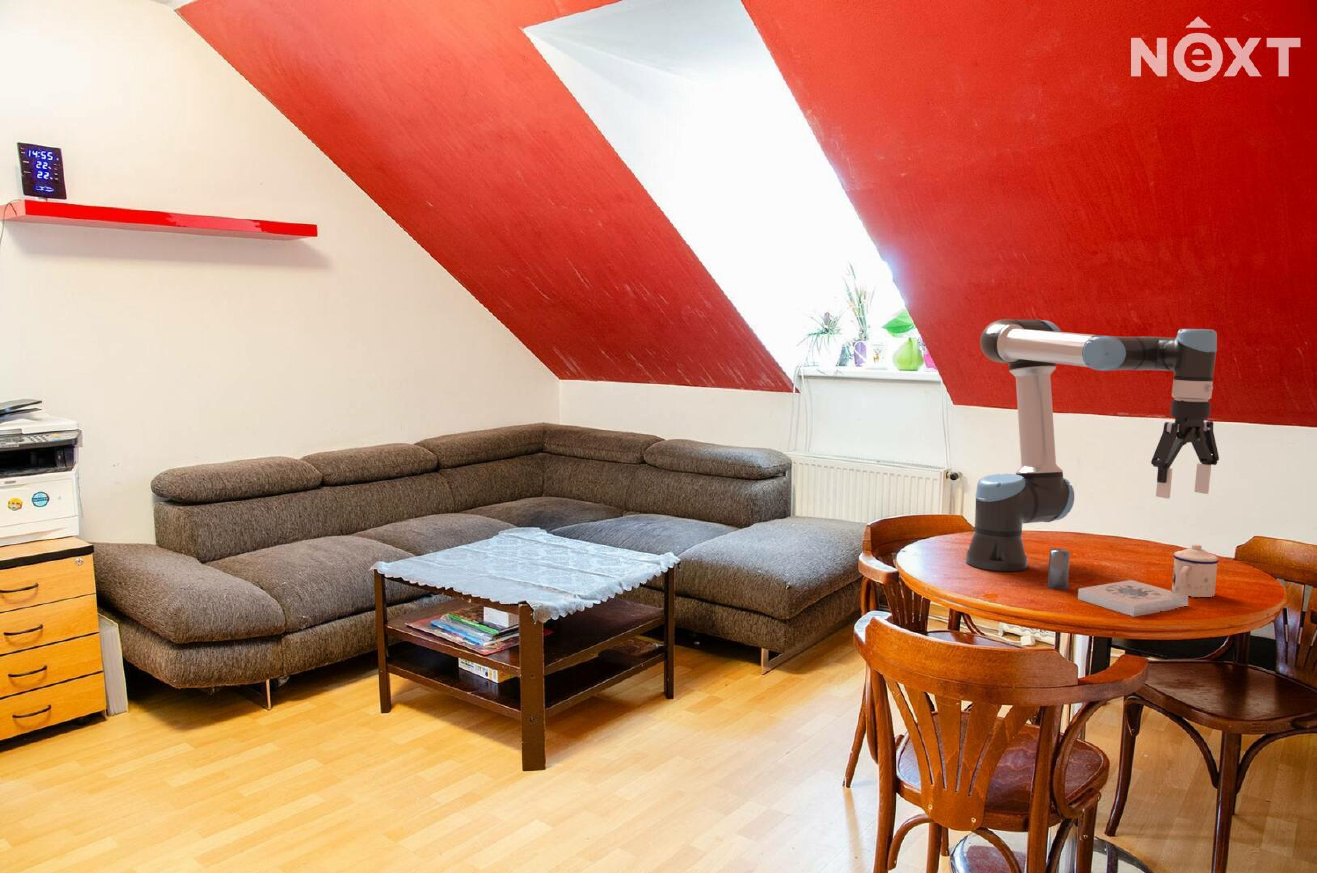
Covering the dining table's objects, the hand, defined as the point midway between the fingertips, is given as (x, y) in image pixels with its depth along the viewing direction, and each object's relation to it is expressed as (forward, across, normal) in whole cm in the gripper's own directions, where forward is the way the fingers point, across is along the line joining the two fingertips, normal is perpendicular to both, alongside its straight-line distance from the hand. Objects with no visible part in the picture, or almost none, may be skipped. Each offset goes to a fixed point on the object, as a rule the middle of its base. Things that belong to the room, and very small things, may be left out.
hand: (1182, 495), depth 199 cm
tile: (+25, -8, +4) cm, 27 cm away
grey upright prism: (+25, -12, +20) cm, 35 cm away
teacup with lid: (+25, +11, +3) cm, 28 cm away
